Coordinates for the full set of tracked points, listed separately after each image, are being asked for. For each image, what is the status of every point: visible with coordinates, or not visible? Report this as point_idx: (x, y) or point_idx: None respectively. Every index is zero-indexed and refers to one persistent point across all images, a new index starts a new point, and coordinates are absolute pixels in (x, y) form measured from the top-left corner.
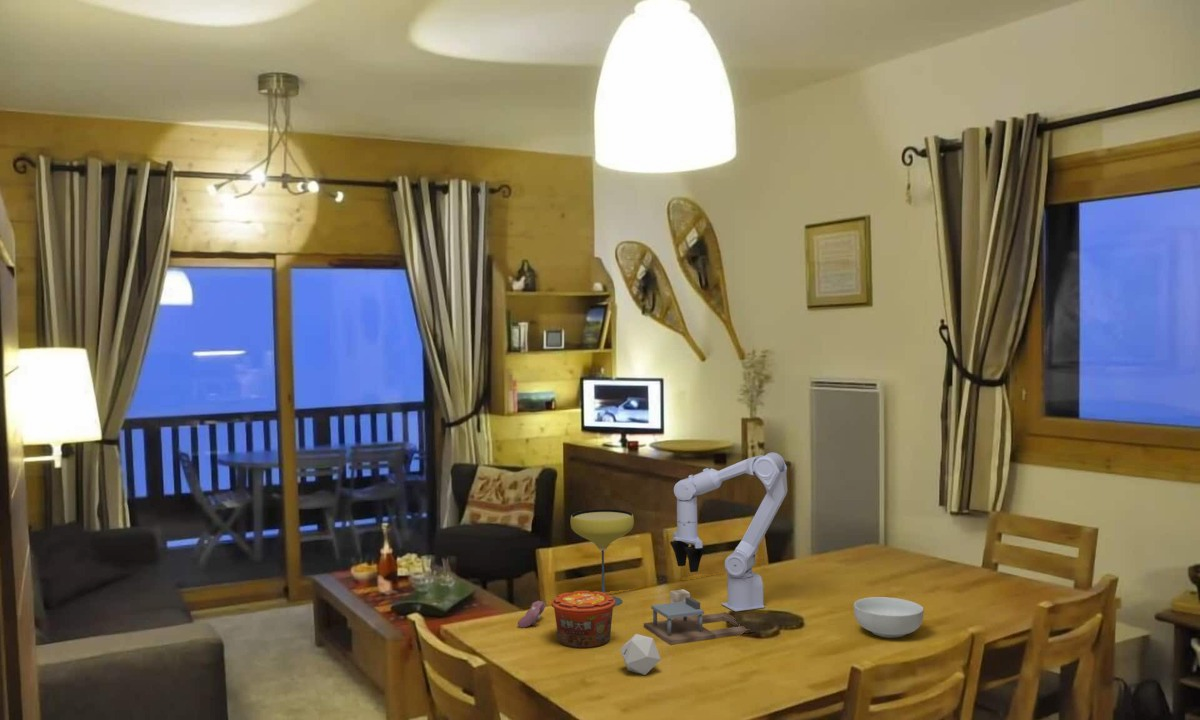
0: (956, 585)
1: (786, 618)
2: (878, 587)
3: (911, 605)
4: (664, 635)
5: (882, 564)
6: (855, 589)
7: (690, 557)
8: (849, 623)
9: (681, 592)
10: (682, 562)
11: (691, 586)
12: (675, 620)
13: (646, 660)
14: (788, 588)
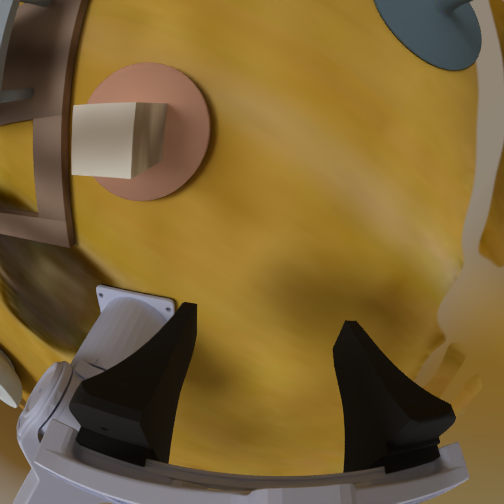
0: None
1: (47, 327)
2: (177, 463)
3: (7, 399)
4: None
5: None
6: (179, 455)
7: (124, 359)
8: (27, 361)
9: (87, 141)
10: (342, 351)
11: (389, 334)
12: (55, 69)
13: None
14: (230, 433)
